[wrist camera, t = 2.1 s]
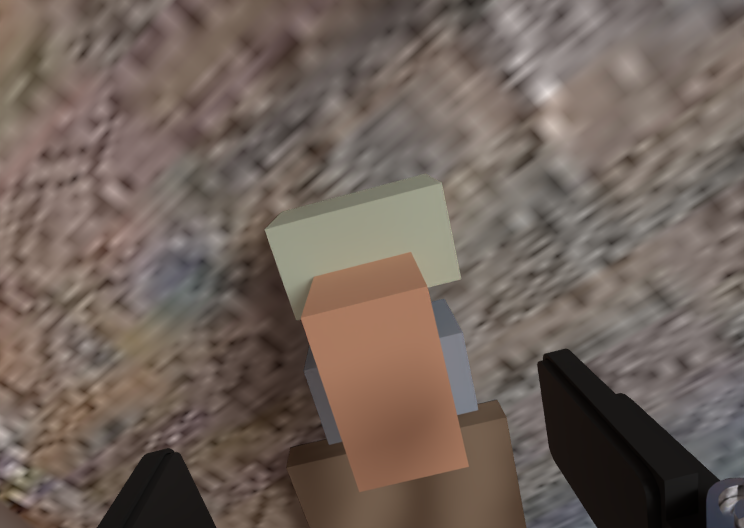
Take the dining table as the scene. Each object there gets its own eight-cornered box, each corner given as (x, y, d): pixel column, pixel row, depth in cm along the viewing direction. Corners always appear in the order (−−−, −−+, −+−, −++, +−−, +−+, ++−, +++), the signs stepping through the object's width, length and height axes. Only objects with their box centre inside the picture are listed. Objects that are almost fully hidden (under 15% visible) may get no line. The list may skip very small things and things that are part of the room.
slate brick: (443, 297, 21) (462, 332, 17) (457, 363, 22) (478, 410, 19) (313, 329, 21) (303, 370, 18) (333, 393, 23) (328, 444, 19)
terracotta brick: (313, 276, 16) (300, 318, 13) (411, 251, 16) (427, 286, 12) (358, 419, 18) (359, 492, 15) (445, 398, 18) (468, 466, 14)
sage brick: (425, 173, 19) (441, 182, 15) (441, 252, 20) (461, 279, 17) (282, 211, 20) (264, 229, 16) (307, 286, 21) (296, 320, 17)
